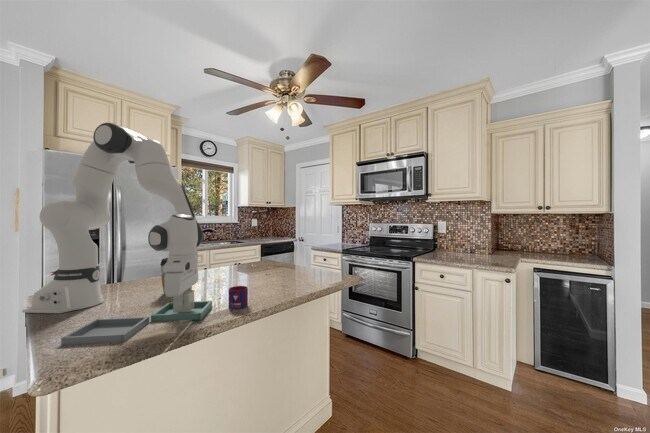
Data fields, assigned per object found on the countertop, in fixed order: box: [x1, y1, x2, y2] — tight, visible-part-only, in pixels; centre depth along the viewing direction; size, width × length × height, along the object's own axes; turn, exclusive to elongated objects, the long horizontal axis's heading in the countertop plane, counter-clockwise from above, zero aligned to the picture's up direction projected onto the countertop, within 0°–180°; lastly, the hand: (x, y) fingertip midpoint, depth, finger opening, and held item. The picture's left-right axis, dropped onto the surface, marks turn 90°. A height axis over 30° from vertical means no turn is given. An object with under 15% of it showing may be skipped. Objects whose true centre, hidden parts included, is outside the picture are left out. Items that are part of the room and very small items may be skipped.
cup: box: [228, 285, 249, 310], centre depth 104 cm, size 7×10×7 cm
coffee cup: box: [160, 257, 169, 296], centre depth 120 cm, size 8×8×15 cm
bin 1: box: [60, 316, 150, 346], centre depth 78 cm, size 15×13×2 cm
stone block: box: [172, 289, 195, 313], centre depth 94 cm, size 5×5×6 cm
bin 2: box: [150, 300, 213, 322], centre depth 94 cm, size 15×13×2 cm
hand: (183, 302), depth 94 cm, fingers closed on stone block, 5 cm apart
